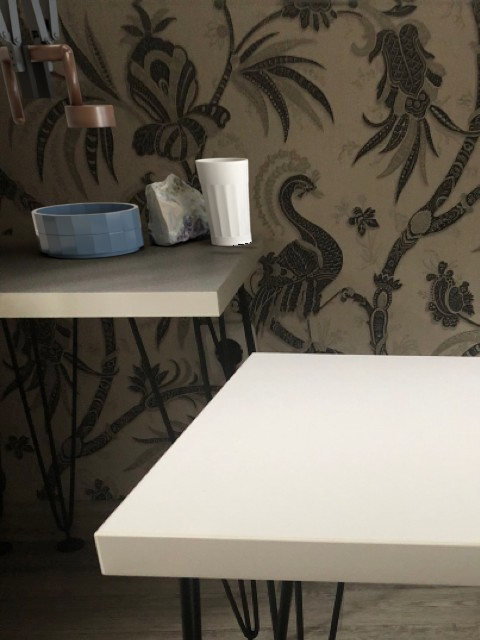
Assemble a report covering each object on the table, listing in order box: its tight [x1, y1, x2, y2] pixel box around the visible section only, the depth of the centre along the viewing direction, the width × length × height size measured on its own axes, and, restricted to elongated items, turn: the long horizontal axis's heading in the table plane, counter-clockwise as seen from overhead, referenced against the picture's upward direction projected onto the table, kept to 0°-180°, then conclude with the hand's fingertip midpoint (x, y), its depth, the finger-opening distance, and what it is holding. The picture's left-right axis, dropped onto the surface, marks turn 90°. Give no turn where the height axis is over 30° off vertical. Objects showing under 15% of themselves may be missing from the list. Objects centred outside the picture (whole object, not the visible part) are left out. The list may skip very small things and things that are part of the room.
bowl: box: [31, 202, 145, 259], centre depth 140 cm, size 15×15×6 cm
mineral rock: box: [144, 172, 210, 247], centre depth 147 cm, size 13×11×10 cm
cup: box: [194, 157, 253, 247], centre depth 144 cm, size 8×8×12 cm
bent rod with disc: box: [0, 43, 117, 129], centre depth 130 cm, size 21×6×10 cm, turn 56°
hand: (38, 98), depth 132 cm, fingers closed on bent rod with disc, 2 cm apart
